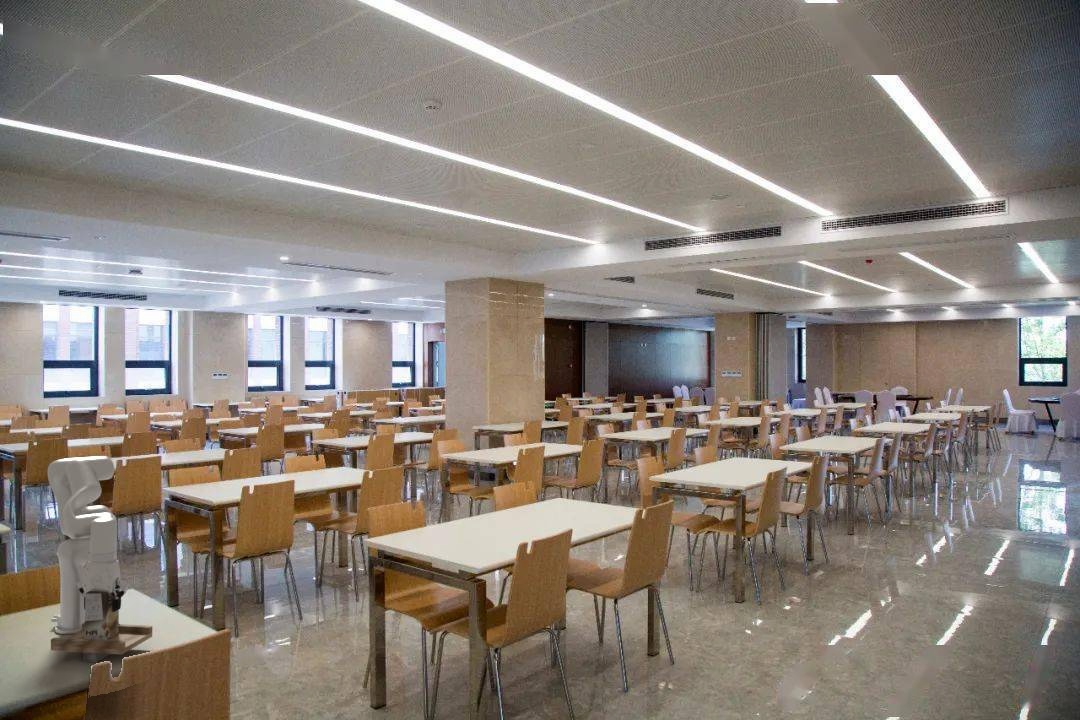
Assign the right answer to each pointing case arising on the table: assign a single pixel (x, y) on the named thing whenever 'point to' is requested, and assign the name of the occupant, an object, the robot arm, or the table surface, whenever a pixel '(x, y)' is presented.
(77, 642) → the brown wooden tray
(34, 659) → the table surface
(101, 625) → the coffee box
